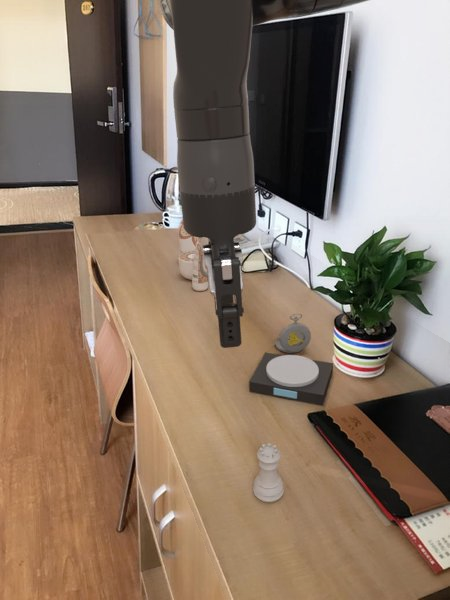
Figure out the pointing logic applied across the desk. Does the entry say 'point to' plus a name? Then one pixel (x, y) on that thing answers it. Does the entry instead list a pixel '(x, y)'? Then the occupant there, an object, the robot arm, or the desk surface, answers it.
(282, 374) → the scale
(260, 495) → the rook chess piece
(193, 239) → the cosmetic set
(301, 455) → the desk surface
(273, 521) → the desk surface
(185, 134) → the robot arm
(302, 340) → the pocket watch
